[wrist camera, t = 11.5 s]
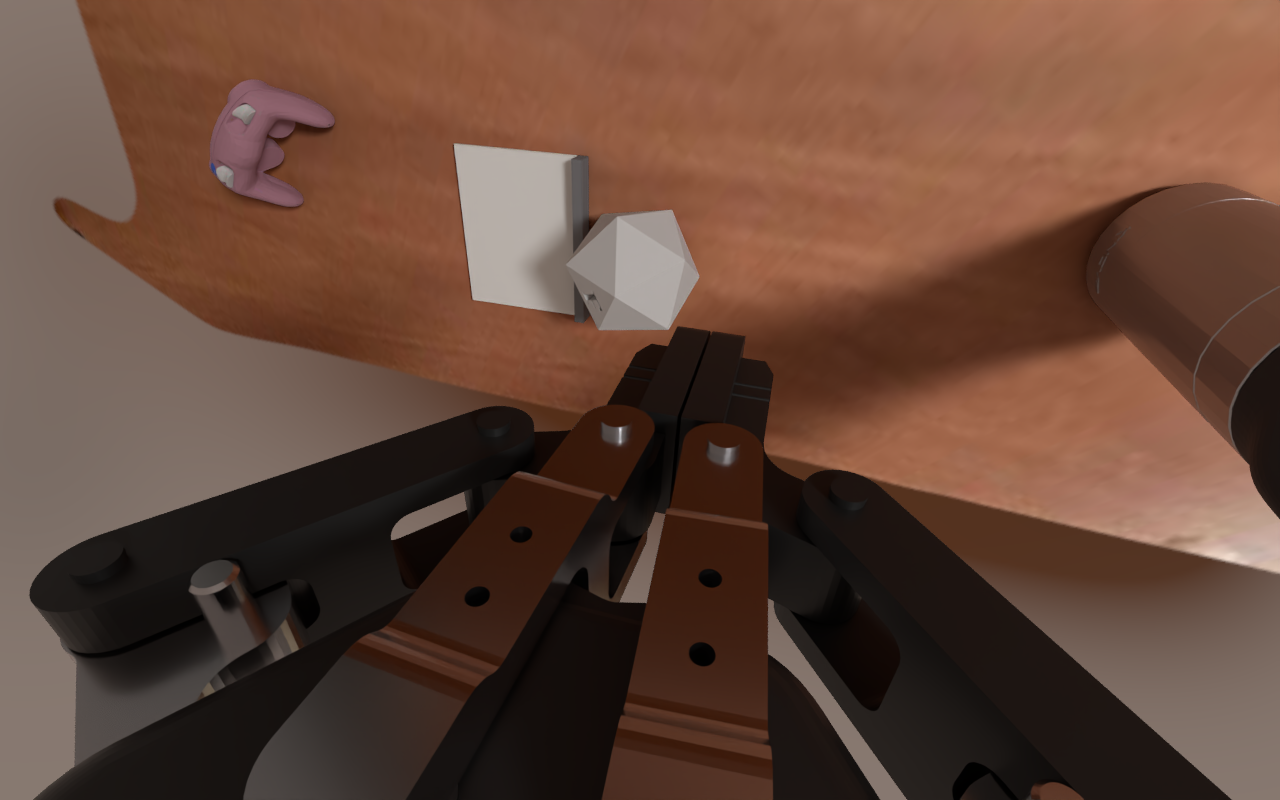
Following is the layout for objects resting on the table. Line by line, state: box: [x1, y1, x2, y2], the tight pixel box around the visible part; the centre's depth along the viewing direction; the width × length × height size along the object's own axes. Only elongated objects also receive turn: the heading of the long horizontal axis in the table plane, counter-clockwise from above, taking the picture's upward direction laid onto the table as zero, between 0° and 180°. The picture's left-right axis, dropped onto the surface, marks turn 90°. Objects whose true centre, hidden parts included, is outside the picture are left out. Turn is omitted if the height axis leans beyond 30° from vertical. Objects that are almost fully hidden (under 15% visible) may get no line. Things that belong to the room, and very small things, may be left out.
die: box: [566, 210, 700, 330], centre depth 43 cm, size 8×9×10 cm
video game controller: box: [209, 80, 335, 207], centre depth 47 cm, size 10×5×7 cm, turn 141°
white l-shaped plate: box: [454, 143, 589, 323], centre depth 48 cm, size 11×13×2 cm
